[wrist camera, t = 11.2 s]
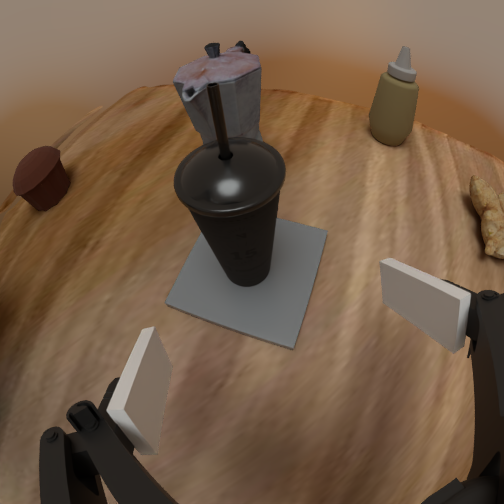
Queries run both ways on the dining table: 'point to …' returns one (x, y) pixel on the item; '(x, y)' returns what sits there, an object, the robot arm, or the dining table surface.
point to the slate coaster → (254, 287)
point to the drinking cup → (233, 197)
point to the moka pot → (223, 91)
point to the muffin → (41, 178)
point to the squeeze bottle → (395, 101)
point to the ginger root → (489, 215)
